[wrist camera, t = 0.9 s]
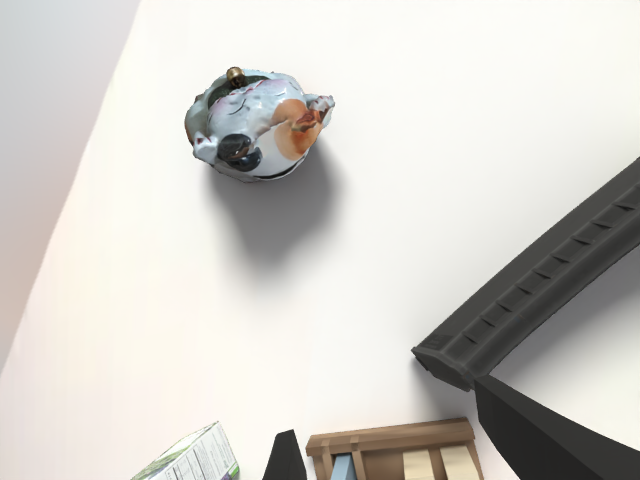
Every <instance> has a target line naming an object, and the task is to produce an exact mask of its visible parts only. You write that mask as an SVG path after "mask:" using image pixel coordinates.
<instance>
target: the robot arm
mask: <svg viewBox="0 0 640 480" xmlns="http://www.w3.org/2000/svg"><path fill="white" fill-rule="evenodd" d="M474 386H475V394H476V402H477V410H478V418H479V422H480V424H481V425H482V427H483V429H484V430H485V432H486V433H487V435H488V437H489V438H490V440H491V441H492V443H493V444H494V446H495V447H496V449H497V450H498V452H499V453H500V454H501V456H502V457H503V458H504V459H505V461H506V462H507V463H508V464H509V466H510V467H511V468H512V470H513V471H514V472H515V473H516V475H517V476H518V477H519V479H520V480H640V451H638V450H635V449H633V448H630V447H628V446H626V445H624V444H621V443H619V442H617V441H614V440H612V439H610V438H607V437H605V436H603V435H601V434H598V433H596V432H594V431H592V430H590V429H588V428H586V427H584V426H582V425H580V424H578V423H576V422H574V421H572V420H570V419H568V418H566V417H564V416H562V415H560V414H558V413H556V412H554V411H552V410H550V409H549V408H547V407H545V406H543V405H541V404H539V403H538V402H536V401H534V400H532V399H530V398H529V397H527V396H525V395H523V394H522V393H520V392H518V391H516V390H515V389H513V388H511V387H509V386H508V385H506V384H504V383H503V382H501V381H499V380H497V379H496V378H494V377H492V376H490V375H489V374H488V375H484V376H481V377H477V378H474ZM262 480H307V474H306V469H305V466H304V462H303V459H302V456H301V453H300V449H299V446H298V443H297V439H296V436H295V433H294V430H293V429H292V430H289V431H285V432H282V433H278V434H277V435H276V437H275V441H274V444H273V448H272V451H271V455H270V458H269V461H268V464H267V467H266V470H265V473H264V476H263V479H262Z"/></svg>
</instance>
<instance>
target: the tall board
mask: <svg viewBox="0 0 640 480" xmlns="http://www.w3.org/2000/svg"><path fill="white" fill-rule="evenodd" d="M331 480H357V475H356V471H355V466H354V461H353V457H352V452H345V453H338V454H337V458H336V461H335V465H334V469H333V472H332V476H331Z"/></svg>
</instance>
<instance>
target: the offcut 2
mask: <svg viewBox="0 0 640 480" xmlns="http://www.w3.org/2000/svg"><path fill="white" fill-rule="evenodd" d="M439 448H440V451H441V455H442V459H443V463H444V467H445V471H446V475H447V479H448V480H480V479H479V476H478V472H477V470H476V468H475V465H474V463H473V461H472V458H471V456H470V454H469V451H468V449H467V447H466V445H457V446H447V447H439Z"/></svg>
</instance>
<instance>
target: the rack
mask: <svg viewBox="0 0 640 480" xmlns="http://www.w3.org/2000/svg"><path fill="white" fill-rule="evenodd" d="M473 439H475V436H474V432H473V429H472V427H471V425H470V423H469V421H468V420H467V418H466V417H465V418H457V419H448V420H440V421H431V422H422V423H414V424H405V425H397V426H388V427H380V428H371V429H363V430H354V431H345V432H337V433H328V434H320V435H311V437H310V439H309V441H308V443H307V446H306V453H307V456H313V461H314V466H315V471H316V476H317V480H331V476H332V472H333V469H334V465H335V461H336V458H337V454H338V453H345V452H352V457H353V461H354V466H355V471H356V475H357V480H405V473H404V460H403V451H407V450H417V449H427V448H428V452H429V456H430V460H431V464H432V468H433V472H434V476H435V480H448V479H447V475H446V471H445V467H444V463H443V459H442V455H441V451H440V448H439V447H447V446H457V445H466V447H467V449H468V451H469V454H470V456H471V458H472V461H473V463H474V465H475V468H476V470H477V472H478V476H479V479H480V480H484V477H483V474H482V470H481V466H480V463H479V459H478V455H477V451H476V448H475V444H474V440H473Z"/></svg>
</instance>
